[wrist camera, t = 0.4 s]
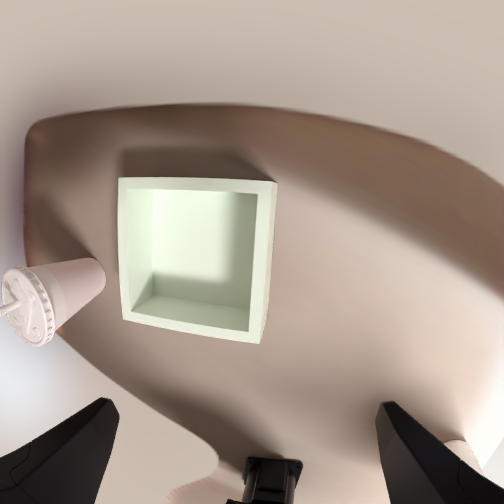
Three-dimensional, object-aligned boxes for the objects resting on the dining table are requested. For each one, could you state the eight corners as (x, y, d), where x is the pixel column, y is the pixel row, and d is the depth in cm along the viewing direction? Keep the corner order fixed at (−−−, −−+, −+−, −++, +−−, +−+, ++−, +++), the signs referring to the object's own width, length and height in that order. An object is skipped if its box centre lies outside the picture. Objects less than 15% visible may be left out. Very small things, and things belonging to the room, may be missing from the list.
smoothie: (115, 247, 25) (-9, 295, 11) (119, 312, 26) (17, 386, 13) (68, 240, 26) (-45, 275, 12) (72, 299, 27) (-25, 354, 13)
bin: (267, 317, 24) (259, 343, 19) (149, 299, 25) (123, 319, 21) (277, 183, 21) (272, 181, 17) (148, 178, 23) (118, 177, 19)
